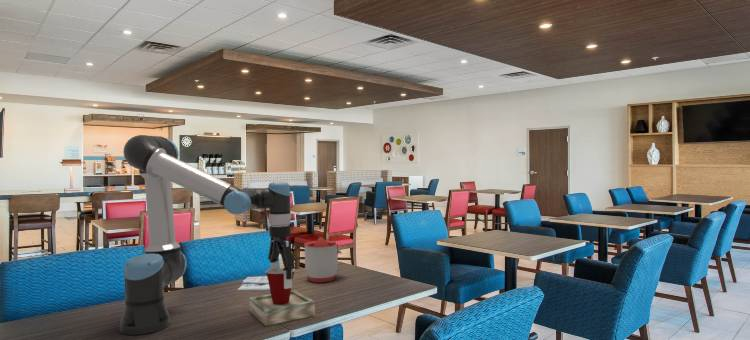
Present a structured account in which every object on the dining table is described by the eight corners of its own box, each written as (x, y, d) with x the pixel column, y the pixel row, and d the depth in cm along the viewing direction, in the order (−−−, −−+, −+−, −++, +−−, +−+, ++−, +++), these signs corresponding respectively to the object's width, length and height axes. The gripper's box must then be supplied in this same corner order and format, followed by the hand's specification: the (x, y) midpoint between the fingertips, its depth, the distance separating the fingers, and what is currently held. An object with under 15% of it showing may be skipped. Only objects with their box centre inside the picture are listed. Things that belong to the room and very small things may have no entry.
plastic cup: (299, 298, 170) (299, 265, 170) (291, 306, 159) (290, 272, 159) (271, 297, 171) (270, 265, 171) (261, 306, 160) (260, 272, 160)
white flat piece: (288, 279, 215) (288, 274, 215) (278, 291, 195) (278, 286, 195) (248, 279, 216) (248, 275, 216) (233, 292, 196) (233, 287, 195)
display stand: (265, 325, 153) (265, 311, 153) (249, 311, 168) (249, 297, 168) (314, 315, 162) (314, 301, 162) (295, 302, 178) (295, 289, 178)
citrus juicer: (345, 282, 206) (344, 238, 206) (306, 285, 202) (305, 240, 201) (338, 274, 221) (338, 233, 221) (302, 277, 217) (302, 235, 216)
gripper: (303, 228, 156) (304, 290, 156) (277, 220, 177) (278, 275, 178) (282, 230, 152) (283, 293, 152) (258, 222, 173) (260, 278, 174)
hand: (281, 283), depth 165 cm, fingers open, 13 cm apart
